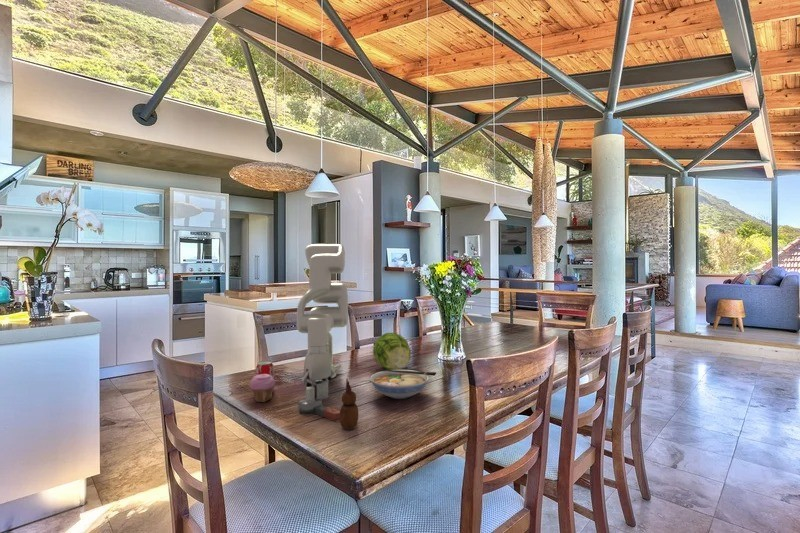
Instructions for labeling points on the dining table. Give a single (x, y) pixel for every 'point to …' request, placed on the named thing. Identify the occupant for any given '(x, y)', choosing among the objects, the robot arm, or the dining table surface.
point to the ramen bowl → (400, 382)
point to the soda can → (265, 368)
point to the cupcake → (262, 387)
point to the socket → (321, 389)
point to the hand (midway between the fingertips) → (318, 396)
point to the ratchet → (317, 406)
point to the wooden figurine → (348, 409)
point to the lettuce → (392, 351)
